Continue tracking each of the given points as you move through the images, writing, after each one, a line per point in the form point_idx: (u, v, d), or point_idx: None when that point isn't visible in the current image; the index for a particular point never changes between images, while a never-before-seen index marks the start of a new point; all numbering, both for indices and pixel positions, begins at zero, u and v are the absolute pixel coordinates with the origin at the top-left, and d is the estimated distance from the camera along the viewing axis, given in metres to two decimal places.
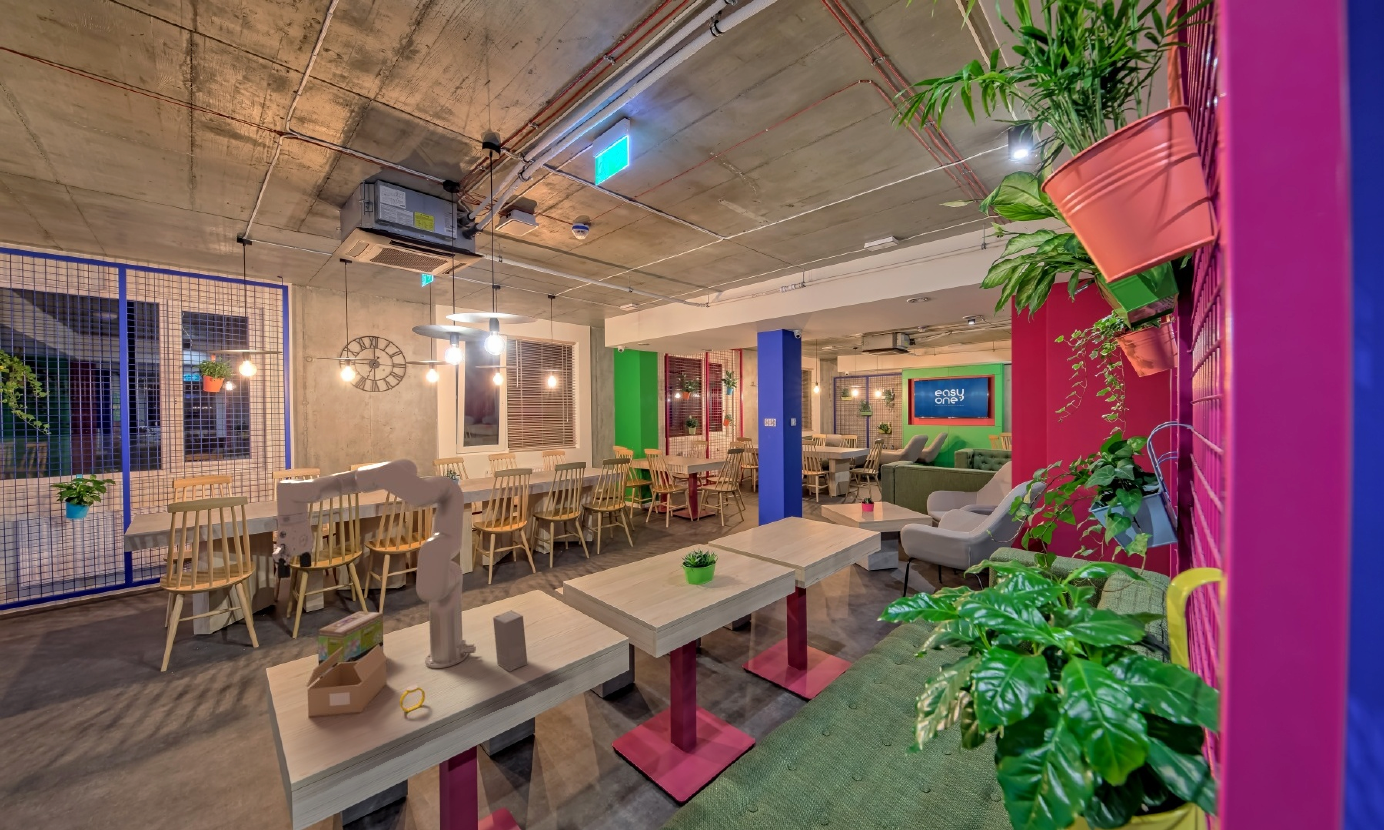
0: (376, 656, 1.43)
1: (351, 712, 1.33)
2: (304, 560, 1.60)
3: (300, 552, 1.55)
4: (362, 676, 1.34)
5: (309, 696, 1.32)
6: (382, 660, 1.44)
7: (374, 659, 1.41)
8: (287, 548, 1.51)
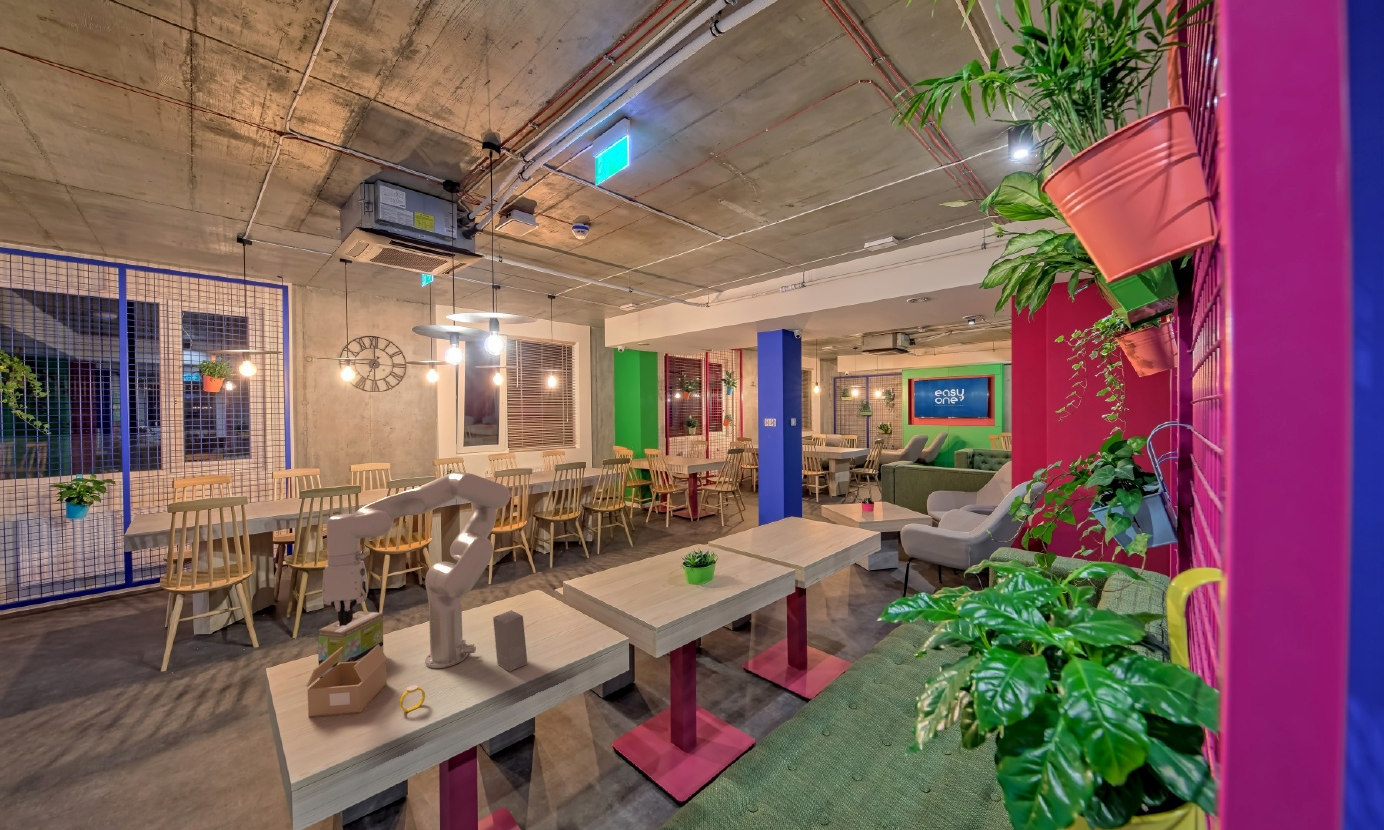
0: (376, 656, 1.43)
1: (351, 712, 1.33)
2: None
3: None
4: (362, 676, 1.34)
5: (309, 696, 1.32)
6: (382, 660, 1.44)
7: (374, 659, 1.41)
8: (366, 585, 1.41)
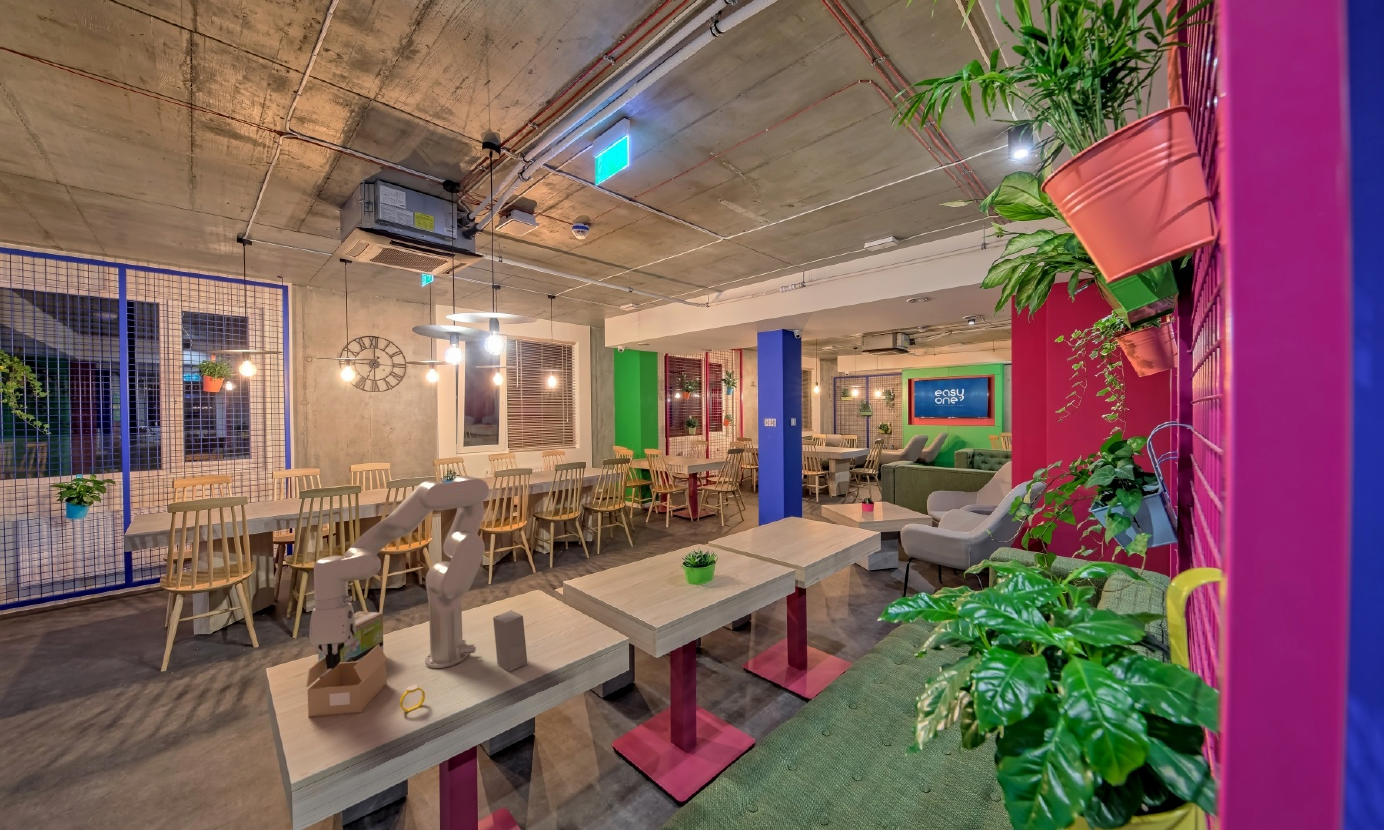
0: (376, 656, 1.43)
1: (351, 712, 1.33)
2: None
3: None
4: (362, 676, 1.34)
5: (309, 696, 1.32)
6: (382, 660, 1.44)
7: (374, 659, 1.41)
8: (354, 627, 1.41)
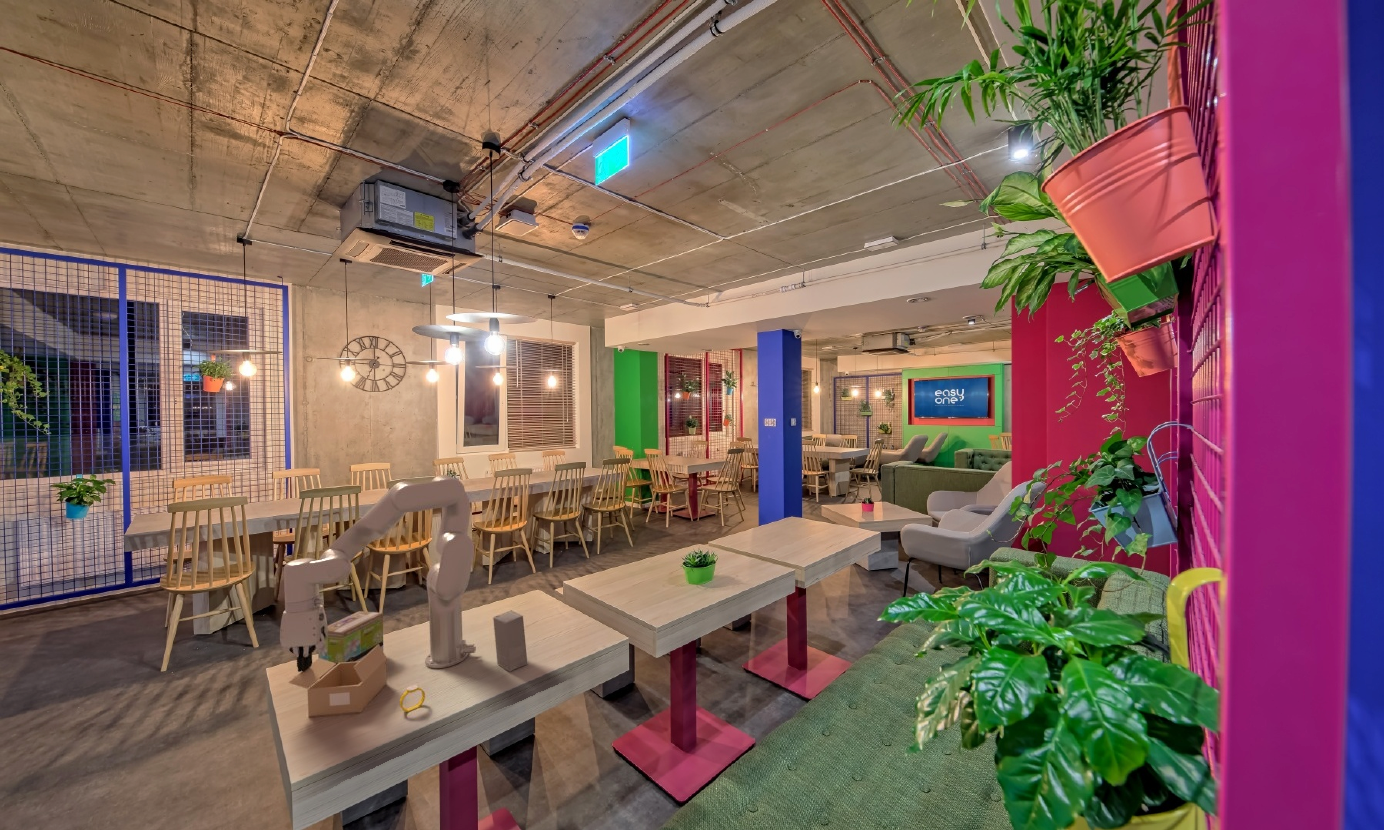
0: (376, 656, 1.43)
1: (351, 712, 1.33)
2: None
3: None
4: (362, 676, 1.34)
5: (309, 696, 1.32)
6: (382, 660, 1.44)
7: (374, 659, 1.41)
8: (325, 629, 1.40)
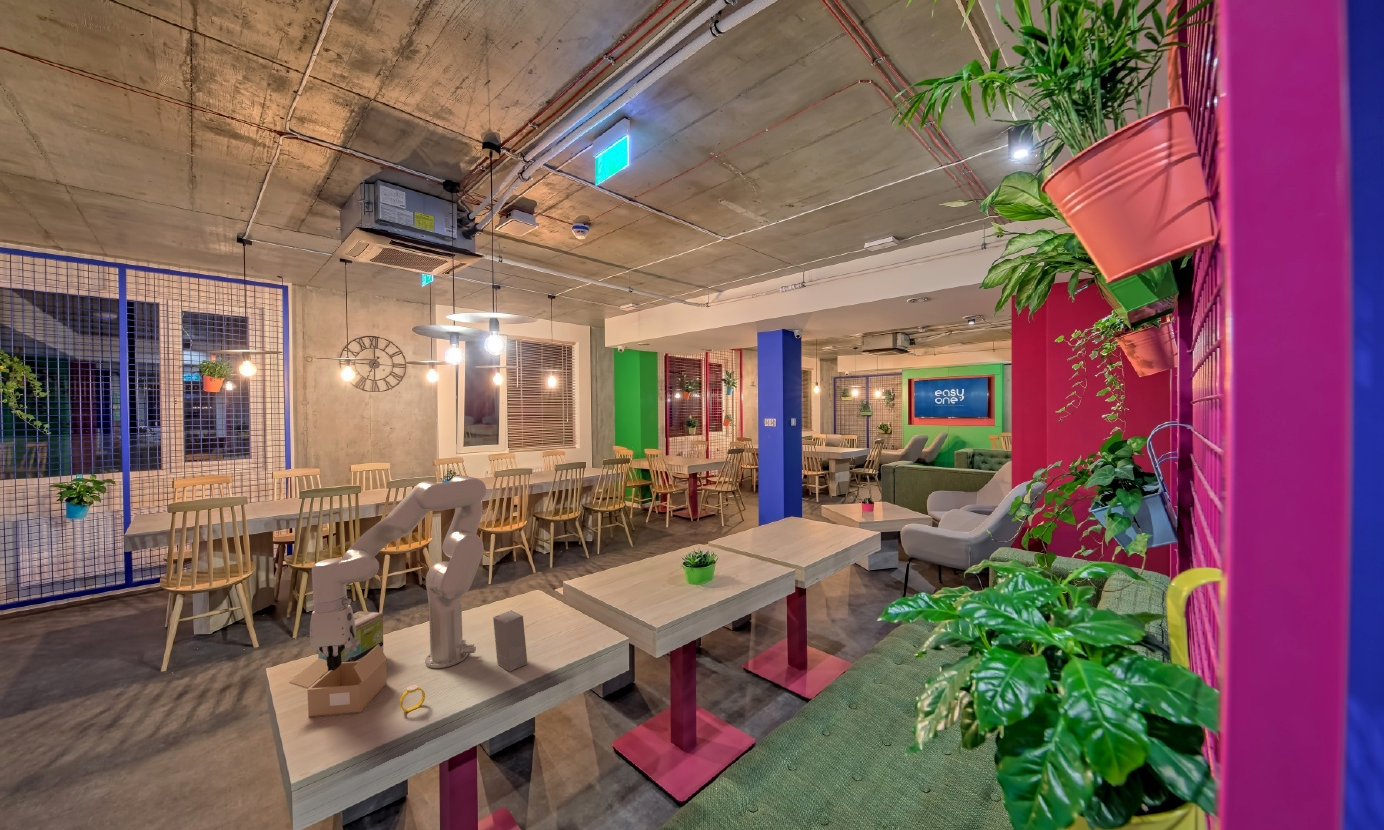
0: (376, 656, 1.43)
1: (351, 712, 1.33)
2: None
3: None
4: (362, 676, 1.34)
5: (309, 696, 1.32)
6: (382, 660, 1.44)
7: (374, 659, 1.41)
8: (354, 629, 1.41)
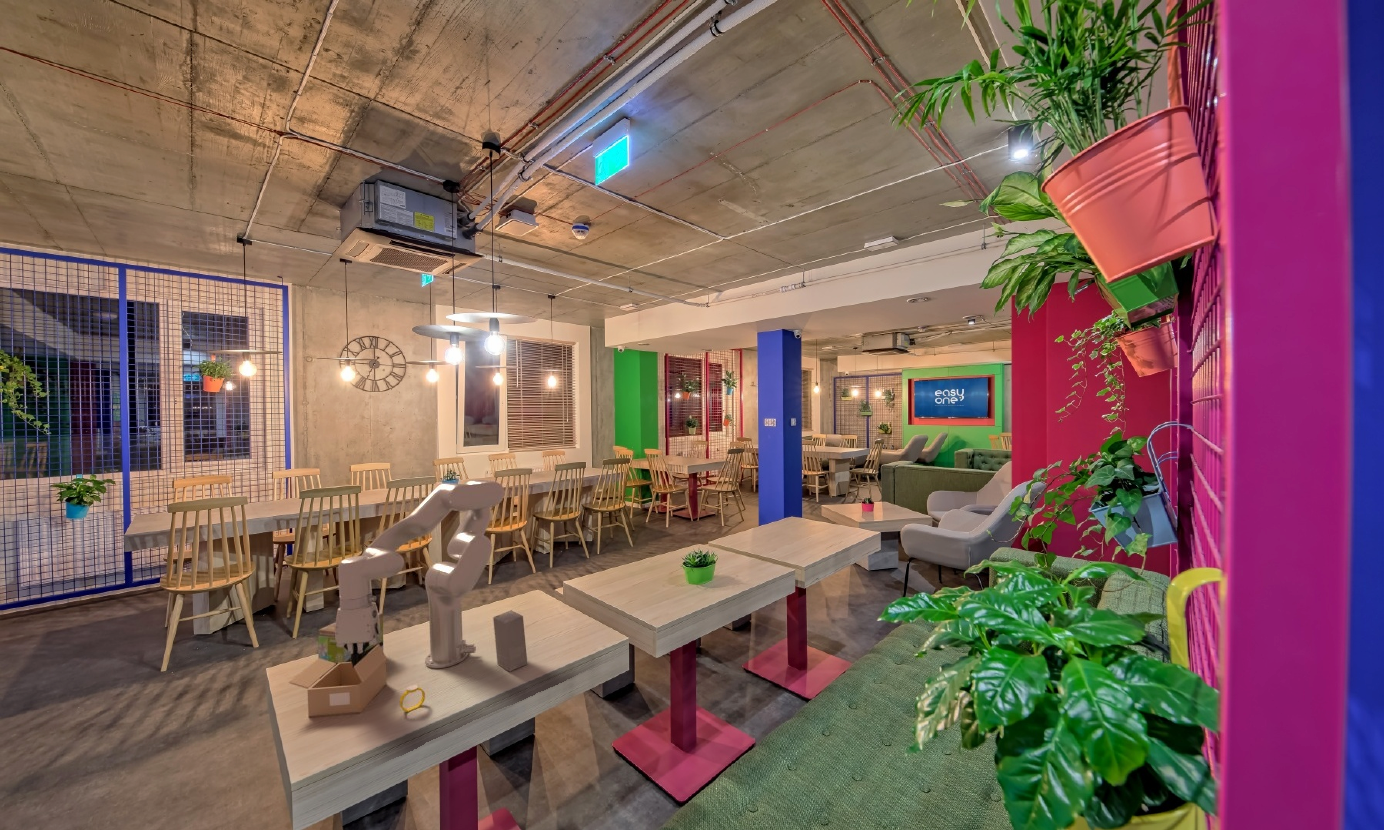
0: (376, 656, 1.43)
1: (351, 712, 1.33)
2: None
3: None
4: (362, 676, 1.34)
5: (309, 696, 1.32)
6: (382, 660, 1.44)
7: (374, 659, 1.41)
8: (378, 626, 1.41)
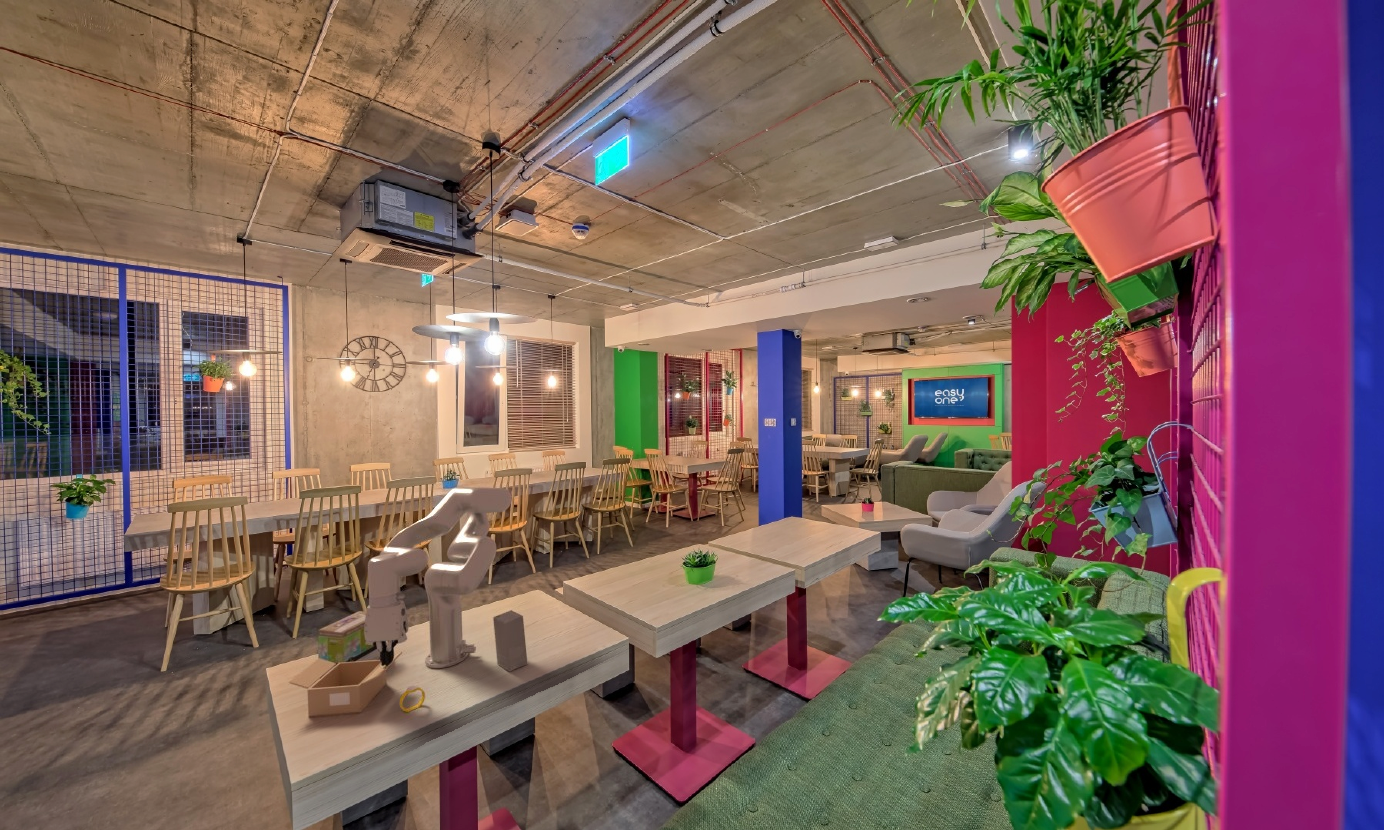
0: None
1: (351, 712, 1.33)
2: None
3: None
4: None
5: (309, 696, 1.32)
6: None
7: None
8: (406, 624, 1.42)
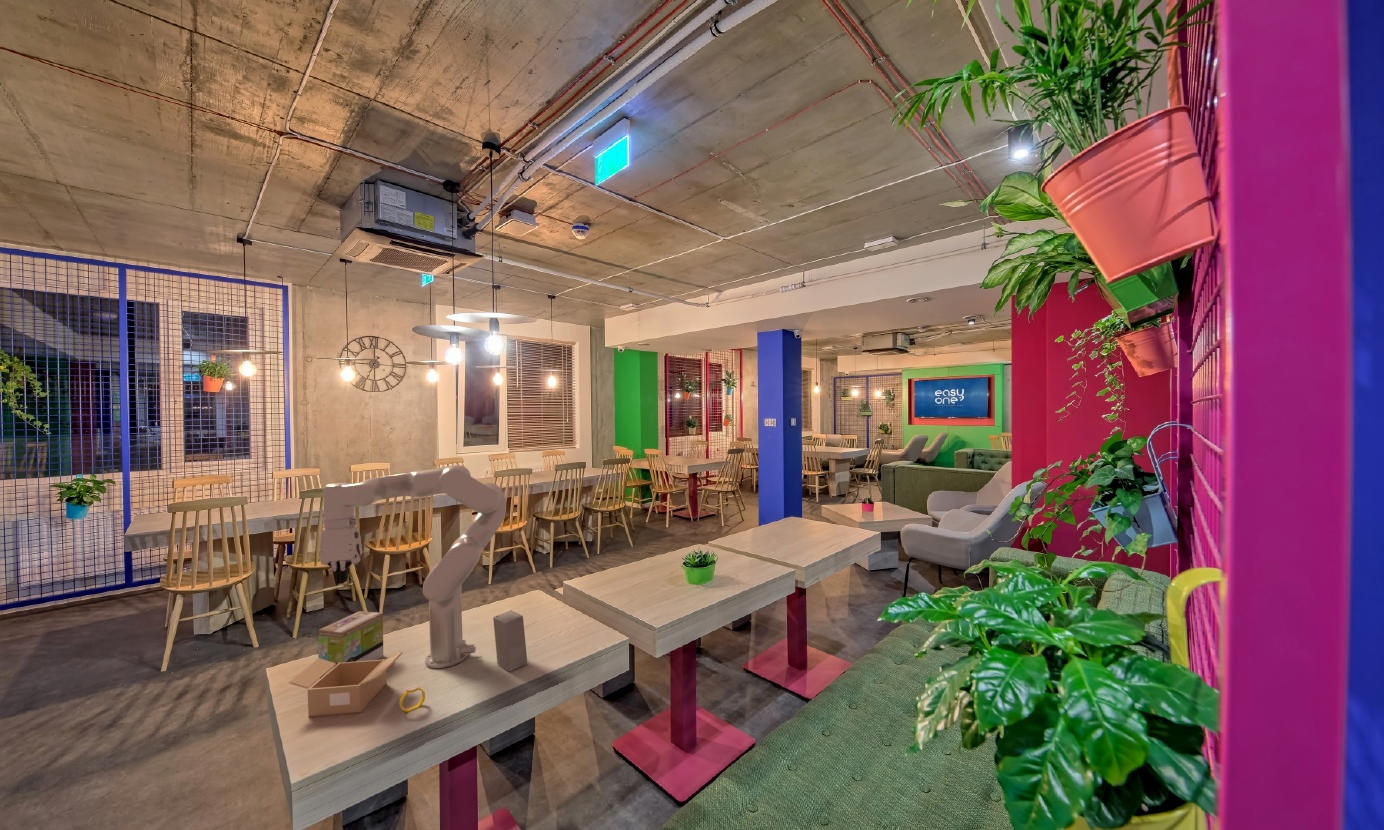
0: None
1: (351, 712, 1.33)
2: None
3: None
4: None
5: (309, 696, 1.32)
6: None
7: None
8: (360, 547, 1.54)
